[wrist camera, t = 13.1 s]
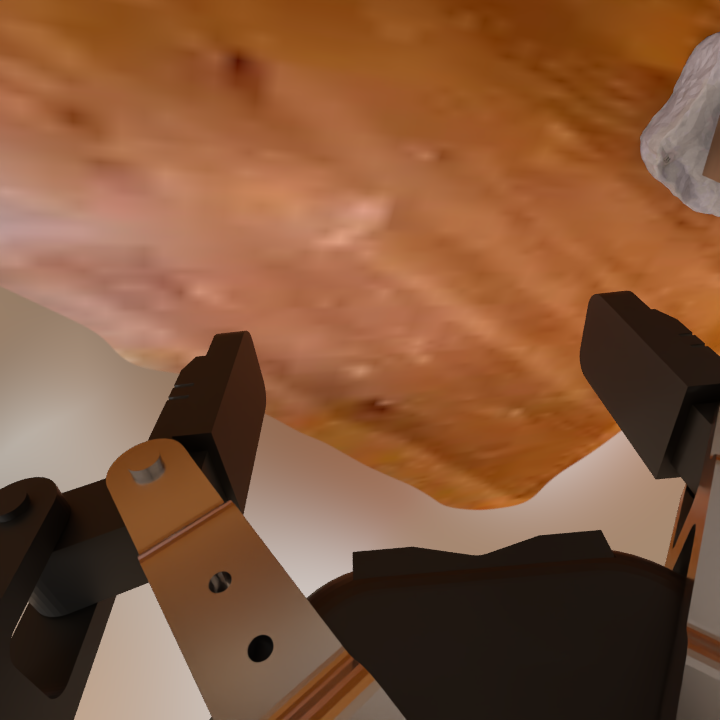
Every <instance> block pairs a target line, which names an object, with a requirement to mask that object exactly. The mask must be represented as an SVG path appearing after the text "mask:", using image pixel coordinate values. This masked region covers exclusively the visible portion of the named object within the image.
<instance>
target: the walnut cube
mask: <svg viewBox="0 0 720 720" xmlns="http://www.w3.org/2000/svg"><path fill="white" fill-rule="evenodd" d="M702 175H703V176H705V177H707V178H709V179H712V180H714V181H716V182H718V183H720V116H719V119H718V122H717V126H716V129H715V133H714V136H713V139H712V143H711V146H710V150H709V153H708V156H707V160H706V163H705V166H704V170H703V173H702Z"/></svg>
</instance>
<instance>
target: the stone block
mask: <svg viewBox="0 0 720 720" xmlns="http://www.w3.org/2000/svg"><path fill="white" fill-rule="evenodd" d="M719 116H720V32H718V33H715V34H713V35H711V36H708V37H707V38H705V39H704V40H703V41H702V42H701V43H700V44H699V45H697V46H696V48H695V49H694V51H693V52H692V54H691V55H690V57H689V59H688V61H687V63H686V65H685V66H684V68H683V71H682V73H681V76H680V77H679V79H678V81H677V83H676V85H675V87H674V91H673V94H672V95H671V97H670V98H669V100H668V101H667V103H666V104H665V105H664V106H663V107H662V109H661V110H660V111H659V112H658V113H657V114H656V115H655V116H654V117H653V118H652V120H651V121H650V123H649V124H648V126H647V127H646V129H645V130H644V131H643V133H642V135H641V137H640V140H641V146H640V150H641V156H642V160H643V161H644V163H645V165H646V167H647V169H648V171H649V172H650V173H651V174H652V176H653V177H654V178H655V179H657V180H658V181H660V182H661V183H663V184H664V185H665V186H666V187H667V188H668V189H670V191H671V193H672V194H673V195H674V196H676V197H678V198H679V199H680V200H681V201H682V202H683V203H684V204H685V205H687V206H688V207H689V208H691V209H692V210H694V211H696V212H700V213H706V214H713V215H715V216H718V217H720V183H718V182H716V181H714V180H712V179H709V178H707V177H705V176H703V175H702V173H703V170H704V166H705V163H706V160H707V156H708V153H709V150H710V146H711V143H712V139H713V136H714V133H715V129H716V126H717V122H718V119H719Z"/></svg>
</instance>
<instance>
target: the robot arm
mask: <svg viewBox="0 0 720 720" xmlns="http://www.w3.org/2000/svg"><path fill="white" fill-rule="evenodd" d="M580 364H581V369H582V372H583V374H584V376H585V378H586V379H587V381H588V382H589V384H590V385H591V387H592V388H593V389H594V391H595V392H596V394H597V395H598V397H599V398H600V400H601V401H602V402H603V404H604V405H605V407H606V408H607V410H608V411H609V413H610V414H611V415H612V417H613V418H614V420H615V421H616V423H617V424H618V426H619V427H620V428H621V430H622V431H623V433H624V434H625V435H626V437H627V439H628V440H629V441H630V443H631V444H632V446H633V447H634V449H635V450H636V452H637V453H638V454H639V456H640V457H641V459H642V460H643V462H644V463H645V465H646V466H647V467H648V469H649V470H650V472H651V473H652V475H653V476H654V478H655V479H665V478H676V477H681V478H682V479H683V480H684V481H685V483H686V485H685V487H684V490H683V492H682V495H681V498H680V503H679V507H678V511H677V516H676V520H675V524H674V528H673V533H672V537H671V541H670V546H669V550H668V554H667V558H666V562H665V566H662V565H660V564H657V563H655V562H652V561H650V560H647V559H644V558H641V557H638V556H635V555H632V554H627V553H623V552H619V551H613V550H611V548H610V546H609V545H608V543H607V541H606V539H605V537H604V535H603V533H602V531H601V530H596V531H586V532H585V531H584V532H573V533H562V534H551V535H540V536H537V537H534V538H531V539H528V540H525V541H522V542H519V543H516V544H513V545H511V546H508V547H505V548H502V549H499V550H496V551H494V552H491V553H488V554H484V555H479V556H475V555H467V554H460V553H453V552H446V551H439V550H431V549H424V548H418V547H405V548H393V549H382V550H372V551H360V552H353V572H350V573H347V574H345V575H342V576H340V577H338V578H336V579H334V580H332V581H330V582H328V583H327V584H325V585H323V586H322V587H320V588H319V589H317V590H316V591H315V592H314V593H312V594H311V595H310V596H308V597H307V598H306V597H305V596H304V595H303V593H302V592H301V591H300V589H299V588H298V587H297V586H296V584H295V583H294V582H293V580H292V579H291V578H290V576H289V575H288V574H287V572H286V571H285V570H284V568H283V567H282V566H281V564H280V563H279V562H278V561H277V559H276V558H275V557H274V555H273V554H272V553H271V551H270V550H269V549H268V547H267V546H266V545H265V543H264V542H263V541H262V539H261V538H260V537H259V535H258V534H257V533H256V532H255V530H254V529H253V528H252V526H251V525H250V524H249V522H248V521H247V520H246V519H245V517H244V516H243V514H244V509H245V504H246V499H247V494H248V490H249V485H250V480H251V475H252V470H253V466H254V461H255V456H256V451H257V446H258V441H259V437H260V432H261V427H262V422H263V417H264V413H265V408H266V392H265V385H264V381H263V377H262V374H261V370H260V366H259V363H258V359H257V355H256V352H255V348H254V345H253V341H252V338H251V335H250V333H249V332H248V331H240V332H230V333H221V334H216V335H215V336H214V338H213V340H212V343H211V345H210V347H209V350H208V352H207V355H206V356H199V357H195V358H194V359H193V360H192V361H191V362H190V363H189V364H188V365H187V366H186V367H185V368H183V369H182V370H181V372H180V374H179V376H178V378H177V381H176V383H175V385H174V386H175V388H173V389H172V391H171V394H170V395H169V400H167V402H166V404H165V406H164V408H163V410H162V412H161V414H160V416H159V418H158V420H157V422H156V425H155V427H154V429H153V431H152V433H151V435H150V437H149V440H148V441H146V442H143V443H140V444H138V445H136V446H134V447H132V448H130V449H129V450H127V451H126V452H124V453H123V454H122V455H121V456H120V457H118V458H117V459H116V460H115V461H114V462H113V464H112V465H111V467H110V468H109V470H108V472H107V475H106V478H105V479H103V480H100V481H97V482H94V483H91V484H88V485H85V486H82V487H79V488H76V489H73V490H70V491H67V492H64V493H61V492H60V490H59V489H58V487H57V486H56V484H55V483H54V482H53V481H52V480H50V479H47V478H44V477H34V478H28V479H24V480H20V481H17V482H14V483H12V484H10V485H8V486H6V487H4V488H2V489H0V720H74V717H75V715H76V711H77V709H78V706H79V703H80V700H81V697H82V694H83V691H84V688H85V685H86V682H87V679H88V676H89V674H90V671H91V668H92V665H93V662H94V659H95V656H96V653H97V650H98V647H99V645H100V642H101V639H102V636H103V633H104V630H105V627H106V623H107V621H108V618H109V615H110V612H111V610H112V607H113V604H114V601H115V598H116V595H118V594H121V593H123V592H126V591H128V590H131V589H133V588H136V587H139V586H141V585H144V584H146V583H149V584H150V586H151V588H152V590H153V592H154V594H155V597H156V599H157V601H158V603H159V605H160V607H161V609H162V611H163V614H164V616H165V618H166V620H167V622H168V624H169V626H170V628H171V631H172V633H173V635H174V637H175V639H176V641H177V644H178V646H179V648H180V650H181V652H182V654H183V656H184V658H185V661H186V663H187V665H188V667H189V669H190V671H191V673H192V676H193V678H194V680H195V682H196V684H197V686H198V688H199V691H200V693H201V695H202V697H203V699H204V701H205V703H206V705H207V707H208V710H209V712H210V714H211V716H212V717H211V718H210V720H720V356H719V355H717V354H716V353H715V352H714V351H713V350H712V349H711V348H709V347H708V346H705V343H704V342H702V341H701V340H700V339H699V338H698V337H697V336H696V335H692V332H691V331H690V330H689V329H688V328H686V327H685V326H684V325H683V324H682V323H681V322H680V321H678V320H677V319H675V318H673V317H671V316H669V315H667V314H664V313H662V312H660V311H658V310H656V309H650V308H649V307H648V306H647V305H646V304H645V303H643V302H642V301H641V300H640V299H639V298H638V297H637V296H636V295H635V294H634V293H632V292H631V291H619V292H610V293H601V294H594V295H593V296H592V297H591V298H590V301H589V304H588V309H587V314H586V320H585V325H584V331H583V337H582V342H581V348H580ZM28 601H29V604H28V606H27V608H26V610H25V612H24V614H23V616H22V618H21V620H20V622H19V624H18V626H17V628H16V630H15V632H14V634H13V636H12V633H13V631H14V629H15V627H16V625H17V623H18V621H19V619H20V616H21V615H22V613H23V611H24V608H25V606H26V605H27V602H28ZM11 637H12V638H11Z"/></svg>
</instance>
